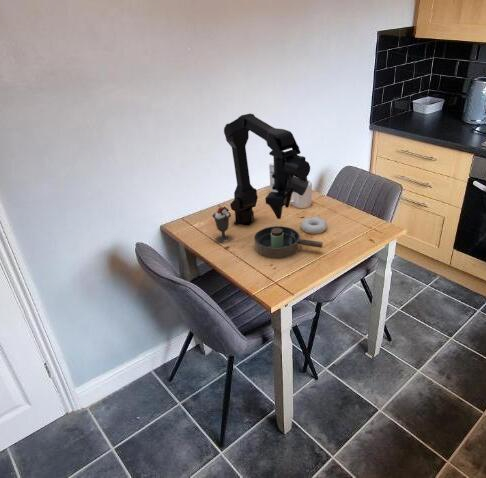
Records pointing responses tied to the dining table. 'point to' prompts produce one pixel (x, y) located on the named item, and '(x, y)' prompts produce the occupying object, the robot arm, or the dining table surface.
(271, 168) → the syrup box
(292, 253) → the black frying pan
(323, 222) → the donut
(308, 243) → the handle
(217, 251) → the dining table surface
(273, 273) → the dining table surface
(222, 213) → the sundae
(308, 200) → the cup
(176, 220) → the dining table surface
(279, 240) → the spice jar
